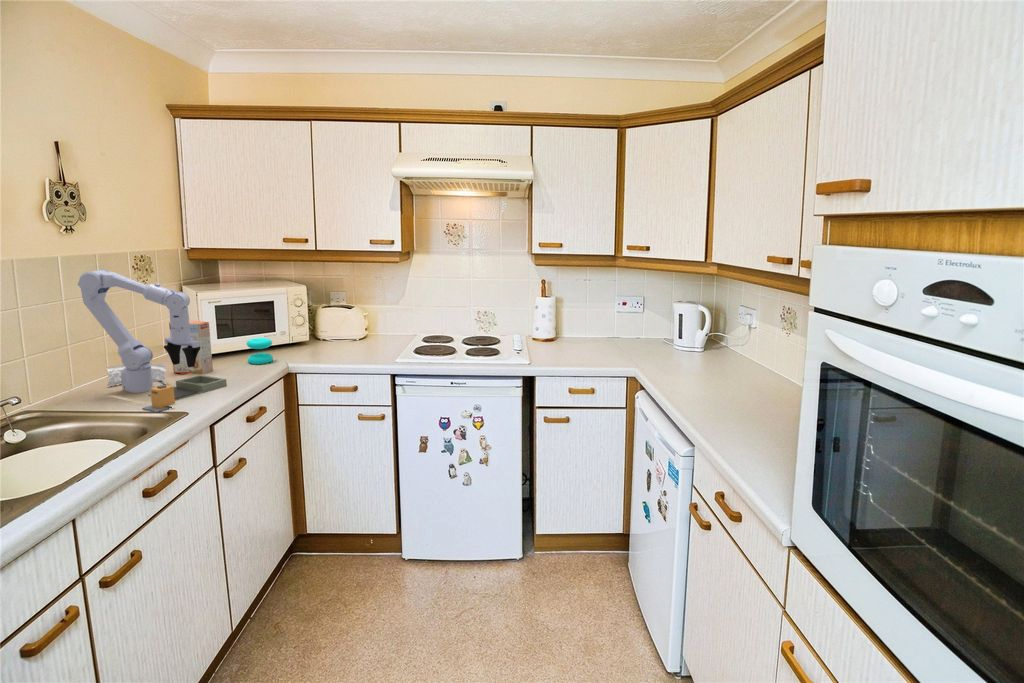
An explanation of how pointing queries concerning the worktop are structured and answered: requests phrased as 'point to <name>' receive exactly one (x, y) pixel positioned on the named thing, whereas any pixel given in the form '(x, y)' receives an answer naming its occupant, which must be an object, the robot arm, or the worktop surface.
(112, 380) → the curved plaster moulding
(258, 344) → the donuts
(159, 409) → the mat
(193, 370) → the cracker box
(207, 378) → the grey-green tray
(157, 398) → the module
